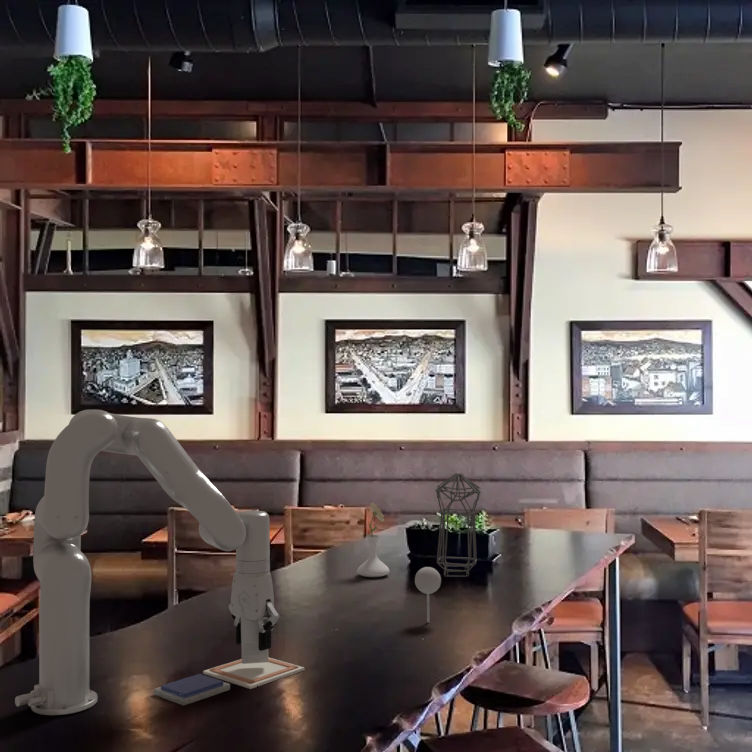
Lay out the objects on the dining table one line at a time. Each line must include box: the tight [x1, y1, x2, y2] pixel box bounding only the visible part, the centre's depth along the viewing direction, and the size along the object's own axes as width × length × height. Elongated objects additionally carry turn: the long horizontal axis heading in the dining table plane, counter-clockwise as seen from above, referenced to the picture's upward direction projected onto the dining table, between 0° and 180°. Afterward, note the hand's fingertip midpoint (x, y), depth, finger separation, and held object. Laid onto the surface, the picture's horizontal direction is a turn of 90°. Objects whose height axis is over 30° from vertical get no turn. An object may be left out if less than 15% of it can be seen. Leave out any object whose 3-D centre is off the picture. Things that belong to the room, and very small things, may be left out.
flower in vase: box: [356, 502, 390, 578], centre depth 295 cm, size 13×11×25 cm
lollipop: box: [414, 566, 442, 624], centre depth 233 cm, size 7×7×15 cm
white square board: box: [202, 656, 306, 690], centre depth 192 cm, size 16×16×1 cm
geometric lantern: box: [435, 472, 482, 578], centre depth 296 cm, size 16×16×35 cm
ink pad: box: [153, 673, 231, 706], centre depth 179 cm, size 12×10×2 cm
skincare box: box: [240, 610, 269, 664], centre depth 193 cm, size 6×4×12 cm
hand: (253, 645), depth 192 cm, fingers closed on skincare box, 6 cm apart
